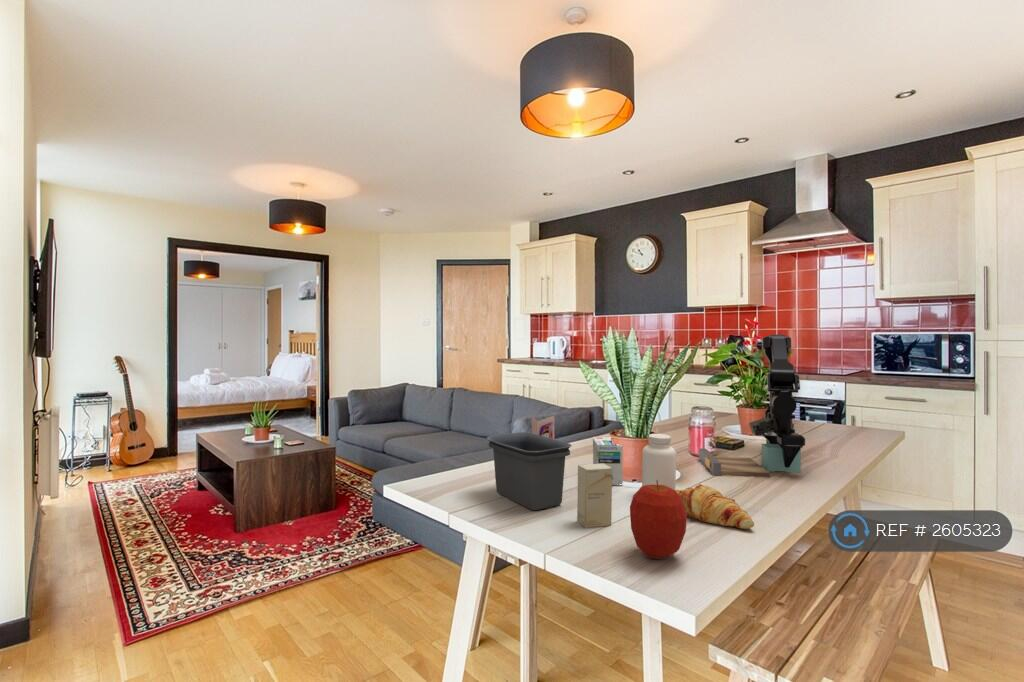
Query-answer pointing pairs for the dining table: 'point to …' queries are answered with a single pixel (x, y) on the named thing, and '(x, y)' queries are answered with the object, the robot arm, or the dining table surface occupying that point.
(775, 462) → the teal carton
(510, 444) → the storage bin
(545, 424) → the pink printed box
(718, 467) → the price rail
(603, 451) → the light bulb box
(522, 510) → the dining table surface
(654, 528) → the apple
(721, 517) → the croissant
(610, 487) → the skincare box
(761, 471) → the shelf board
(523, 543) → the dining table surface
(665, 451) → the pill bottle
